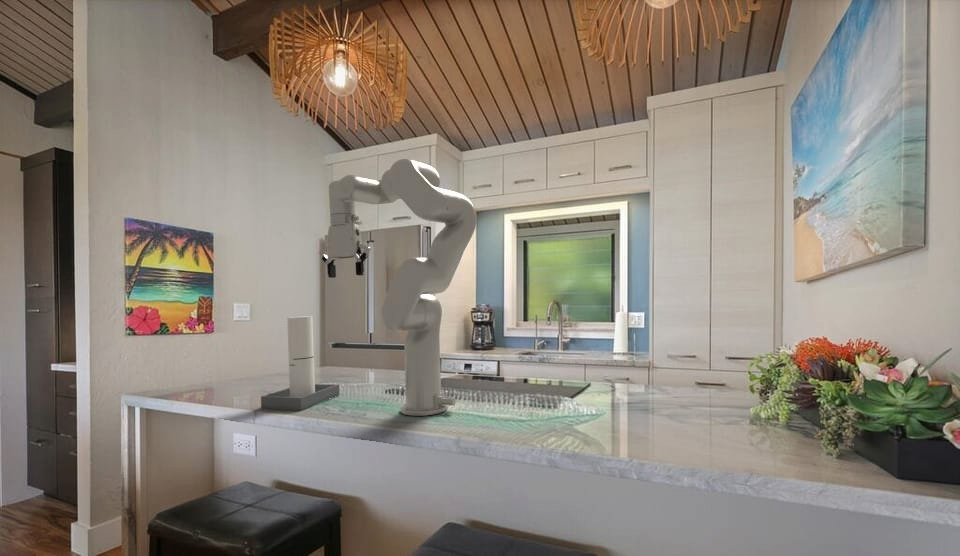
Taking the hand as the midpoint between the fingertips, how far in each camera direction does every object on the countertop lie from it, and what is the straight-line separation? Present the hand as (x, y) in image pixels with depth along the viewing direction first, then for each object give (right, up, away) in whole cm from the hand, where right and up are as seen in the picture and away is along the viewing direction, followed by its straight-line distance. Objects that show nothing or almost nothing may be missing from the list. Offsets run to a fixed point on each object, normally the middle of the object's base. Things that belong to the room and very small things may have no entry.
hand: (345, 276), depth 141 cm
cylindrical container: (-13, -38, -2) cm, 40 cm away
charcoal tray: (-13, -38, -2) cm, 40 cm away
